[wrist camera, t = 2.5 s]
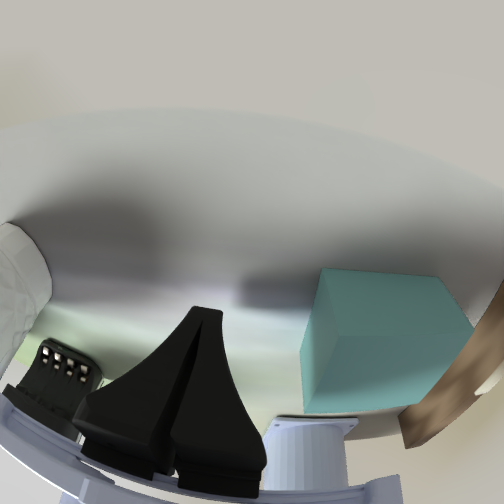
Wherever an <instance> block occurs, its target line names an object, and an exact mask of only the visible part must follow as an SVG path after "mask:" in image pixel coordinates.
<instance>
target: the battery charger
mask: <svg viewBox="0 0 504 504" xmlns="http://www.w3.org/2000/svg"><path fill="white" fill-rule="evenodd" d="M103 382H104V378H103V375H102V374H101V372H100V370H99V368H98V367H97V365H96V364H95V363H94V362H93V361H91V360H90V359H88V358H86V357H84V356H82V355H80V354H78V353H76V352H74V351H71V350H69V349H67V348H65V347H63V346H61V345H58V344H56V343H54V342H52V341H49V340H44V341H43V342H42V343H41V345H40V346H39V348H38V351H37V354H36V357H35V359H34V361H33V363H32V365H31V367H30V369H29V370H28V372H27V373H26V374H25V376H24V377H23V379H22V380H21V382H20V383H19V384H18V385H17V386H16V388H14V387H13V386H11V385H10V384H7V386H6V387H5V389H4V391H3V392H2V394H3V395H4V396H5V397H6V398H7V399H8V400H9V401H10V402H11V403H12V404H13V405H14V407H16V408H17V409H19V410H20V411H22V412H23V413H25V414H26V415H28V416H29V417H31V418H33V419H34V420H36V421H37V422H39V423H41V424H42V425H44V426H46V427H47V428H49V429H51V430H53V431H55V432H56V433H58V434H60V435H62V436H64V437H66V438H68V439H70V440H72V441H74V442H76V443H78V444H79V442H80V439H81V436H82V434H81V433H80V432H79V431H78V429H77V428H76V427H75V426H74V425H73V422H72V419H73V417H74V415H75V413H76V411H77V408H78V406H79V404H80V403H81V401H82V400H83V398H84V397H85V395H87V394H89V393H91V392H93V391H95V390H97V389H99V388H101V386H102V384H103Z"/></svg>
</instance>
